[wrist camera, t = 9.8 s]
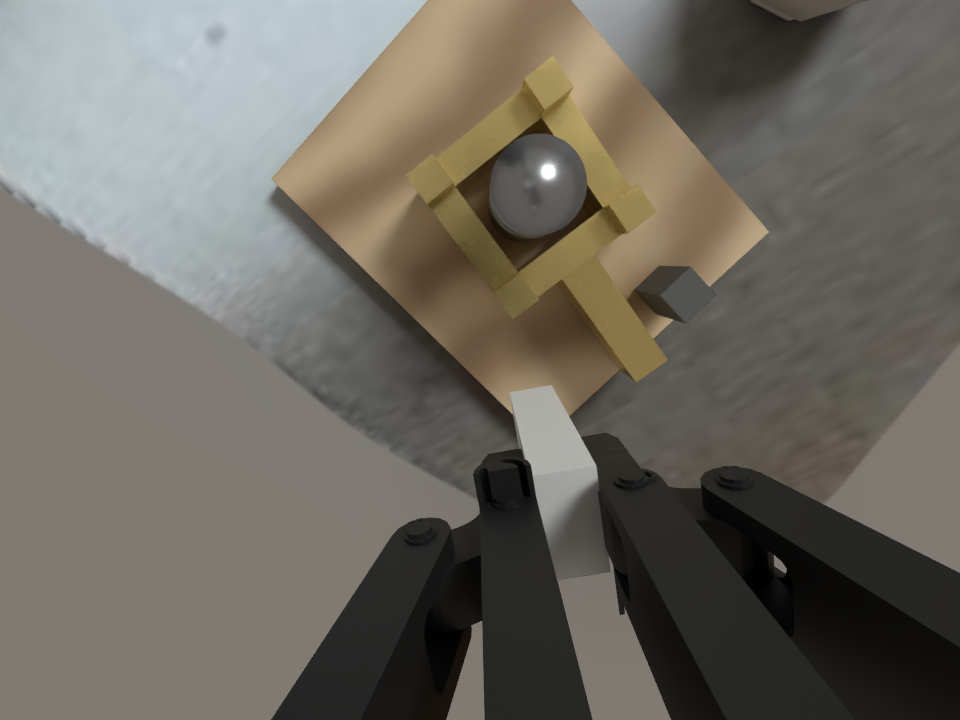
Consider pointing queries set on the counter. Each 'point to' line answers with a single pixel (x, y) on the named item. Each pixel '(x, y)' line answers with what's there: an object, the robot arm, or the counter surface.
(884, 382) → the counter surface
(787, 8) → the potion bottle
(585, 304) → the handled square frame
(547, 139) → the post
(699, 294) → the block
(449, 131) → the oak board
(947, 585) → the robot arm
